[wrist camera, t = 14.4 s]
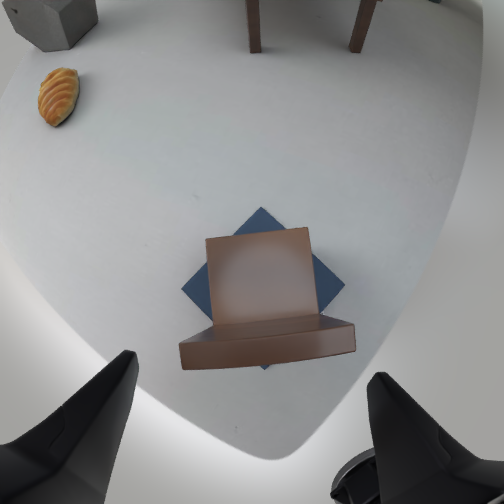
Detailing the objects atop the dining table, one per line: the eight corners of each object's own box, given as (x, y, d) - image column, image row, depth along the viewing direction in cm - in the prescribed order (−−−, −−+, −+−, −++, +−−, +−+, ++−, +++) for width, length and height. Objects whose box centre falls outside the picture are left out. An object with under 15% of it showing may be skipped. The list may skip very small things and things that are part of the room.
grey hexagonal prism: (114, 0, 24) (41, -50, 8) (80, 29, 23) (3, -22, 8) (86, 38, 35) (27, -3, 19) (61, 64, 34) (0, 22, 18)
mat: (344, 284, 21) (345, 284, 21) (264, 369, 20) (264, 370, 20) (261, 207, 22) (260, 206, 22) (181, 288, 21) (181, 288, 21)
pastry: (86, 108, 25) (71, 90, 22) (46, 140, 25) (28, 126, 22) (80, 72, 27) (67, 56, 23) (44, 100, 27) (30, 87, 23)
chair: (307, 322, 20) (357, 351, 9) (228, 331, 21) (181, 370, 9) (297, 244, 21) (332, 182, 10) (220, 253, 22) (167, 201, 10)
